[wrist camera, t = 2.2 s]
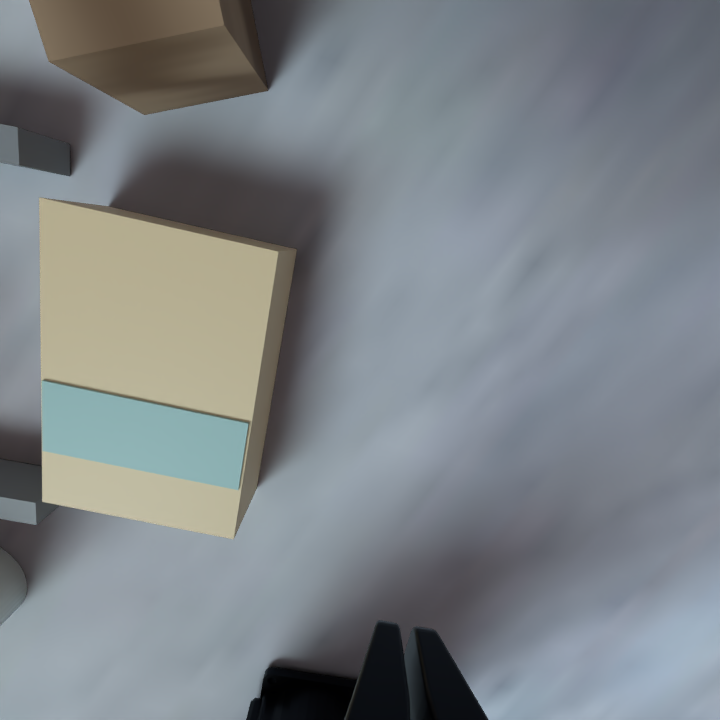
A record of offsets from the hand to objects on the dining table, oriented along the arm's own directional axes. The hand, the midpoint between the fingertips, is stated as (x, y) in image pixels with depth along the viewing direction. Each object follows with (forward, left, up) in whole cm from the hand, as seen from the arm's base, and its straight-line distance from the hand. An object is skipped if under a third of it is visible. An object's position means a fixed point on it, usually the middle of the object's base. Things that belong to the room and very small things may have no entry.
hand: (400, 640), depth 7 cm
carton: (+9, 0, -12) cm, 15 cm away
